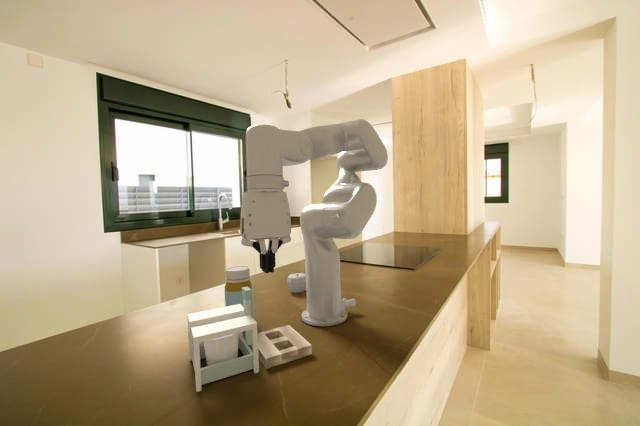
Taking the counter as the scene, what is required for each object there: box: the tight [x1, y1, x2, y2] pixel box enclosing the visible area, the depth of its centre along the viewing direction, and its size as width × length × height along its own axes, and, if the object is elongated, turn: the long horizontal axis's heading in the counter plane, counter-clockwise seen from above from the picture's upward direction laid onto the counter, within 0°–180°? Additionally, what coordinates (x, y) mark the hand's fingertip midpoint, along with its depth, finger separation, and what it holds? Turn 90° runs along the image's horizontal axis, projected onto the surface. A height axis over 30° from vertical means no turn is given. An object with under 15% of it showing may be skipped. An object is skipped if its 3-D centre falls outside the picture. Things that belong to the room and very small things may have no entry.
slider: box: [191, 287, 254, 386], centre depth 58 cm, size 11×10×14 cm
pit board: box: [249, 324, 313, 370], centre depth 64 cm, size 10×12×2 cm
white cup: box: [204, 333, 239, 367], centre depth 58 cm, size 7×7×7 cm
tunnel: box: [186, 304, 260, 393], centre depth 58 cm, size 11×13×10 cm
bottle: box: [224, 265, 254, 319], centre depth 78 cm, size 7×7×15 cm
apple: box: [286, 272, 306, 294], centre depth 105 cm, size 8×8×7 cm
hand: (267, 271), depth 62 cm, fingers closed
